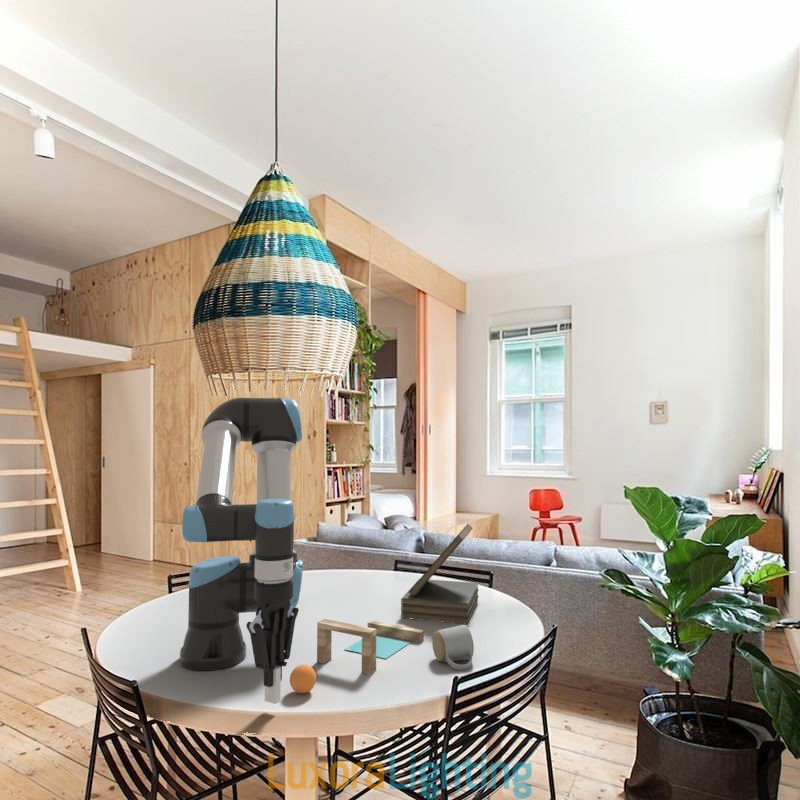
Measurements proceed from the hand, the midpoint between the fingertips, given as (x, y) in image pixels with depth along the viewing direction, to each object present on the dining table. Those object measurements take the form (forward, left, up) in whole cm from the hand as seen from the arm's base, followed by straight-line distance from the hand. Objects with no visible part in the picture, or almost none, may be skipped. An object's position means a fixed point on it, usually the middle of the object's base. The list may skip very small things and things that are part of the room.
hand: (272, 700), depth 119 cm
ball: (0, +10, +1) cm, 10 cm away
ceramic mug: (+21, +41, -2) cm, 46 cm away
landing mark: (0, +40, -2) cm, 40 cm away
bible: (+1, +76, -3) cm, 76 cm away
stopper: (0, +49, -2) cm, 49 cm away
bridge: (0, +26, -2) cm, 26 cm away
